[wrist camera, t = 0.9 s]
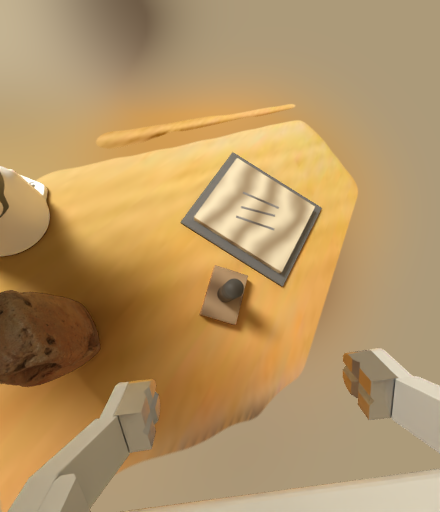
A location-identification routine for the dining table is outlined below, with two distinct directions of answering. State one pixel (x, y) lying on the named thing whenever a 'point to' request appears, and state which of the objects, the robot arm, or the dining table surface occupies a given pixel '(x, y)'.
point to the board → (255, 215)
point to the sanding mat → (232, 249)
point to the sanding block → (224, 295)
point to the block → (43, 337)
